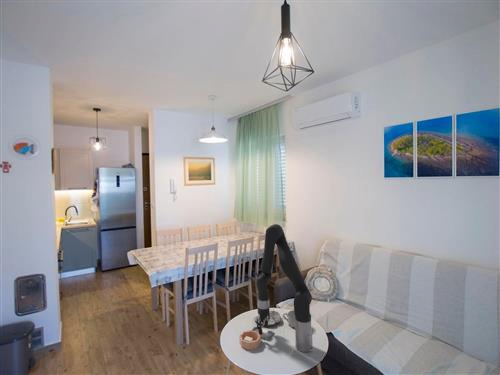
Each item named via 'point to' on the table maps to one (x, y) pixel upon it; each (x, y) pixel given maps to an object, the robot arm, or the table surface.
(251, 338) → the stone
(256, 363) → the table surface
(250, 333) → the bowl
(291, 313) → the teacup
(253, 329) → the tray
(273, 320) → the brain slice
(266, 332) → the stone
